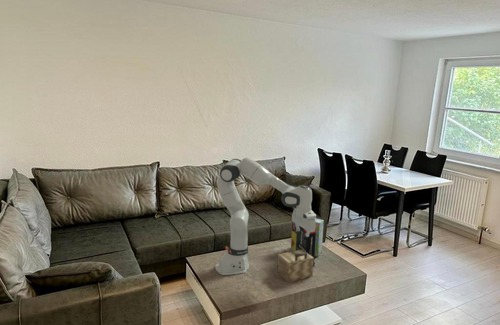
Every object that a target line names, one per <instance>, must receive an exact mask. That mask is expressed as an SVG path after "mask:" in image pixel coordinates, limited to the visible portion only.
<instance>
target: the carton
mask: <svg viewBox="0 0 500 325" xmlns="http://www.w3.org/2000/svg"><path fill="white" fill-rule="evenodd" d="M277 258H278V259H277V273H278V274H279V275H280V276H281V277H282V278H284V280H285V281H286V282H288V283H290V282H295V281H299V280H302V279H306V278H310V277H313V273H314V266H313V261H314V262H315V258H314V259H310V260H305V261H301V262H296V263H292V264H289V263H288V262H286V261H285V260H284V259H283V258H281V257H280V256H279V254H278V255H277Z"/></svg>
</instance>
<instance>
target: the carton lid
mask: <svg viewBox="0 0 500 325" xmlns="http://www.w3.org/2000/svg"><path fill="white" fill-rule="evenodd" d="M278 255H279V256H280V257H281V258H283V259H284V260H285V261H286V262H288V263H289V264H292V263H296V262H301V261H305V260H310V259H314V260H315V257H314V258H313V257H312V256H311V255H309V254H308V253H307V252H305V251H303V250H297V251H293V250H291V251H289V252H288V251H287V252H283V253H279V254H278Z"/></svg>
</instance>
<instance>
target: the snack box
mask: <svg viewBox="0 0 500 325" xmlns="http://www.w3.org/2000/svg"><path fill="white" fill-rule="evenodd" d="M315 220H316V228H315V229H316V239H315V256H314V257H316V258H318V257H319V256H320V255H321V254H322V253H323V252H322V251H323V238H324V235H323V234H324V222H325V221H324V219H320V218H317V217H316V218H315ZM296 234H297V230H296V225H295V223H294V222H292V221H291V237H290V240H291V241H290V250H291V251H296Z"/></svg>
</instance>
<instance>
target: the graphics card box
mask: <svg viewBox="0 0 500 325" xmlns="http://www.w3.org/2000/svg"><path fill="white" fill-rule="evenodd" d="M299 228H300V231H297V234H296V251H297V250H303V251H305V252H307V253H308V254H309V255H311V256H312V257H313V258H314V259H315V257H316V256H315V239H316V229H315V231H314V232H310V234H309V237H306V236H305V233H307V232H306V230H305V229H304V228H302V227H301V226H299ZM314 266H315V260H314V261H313V267H314Z"/></svg>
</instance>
